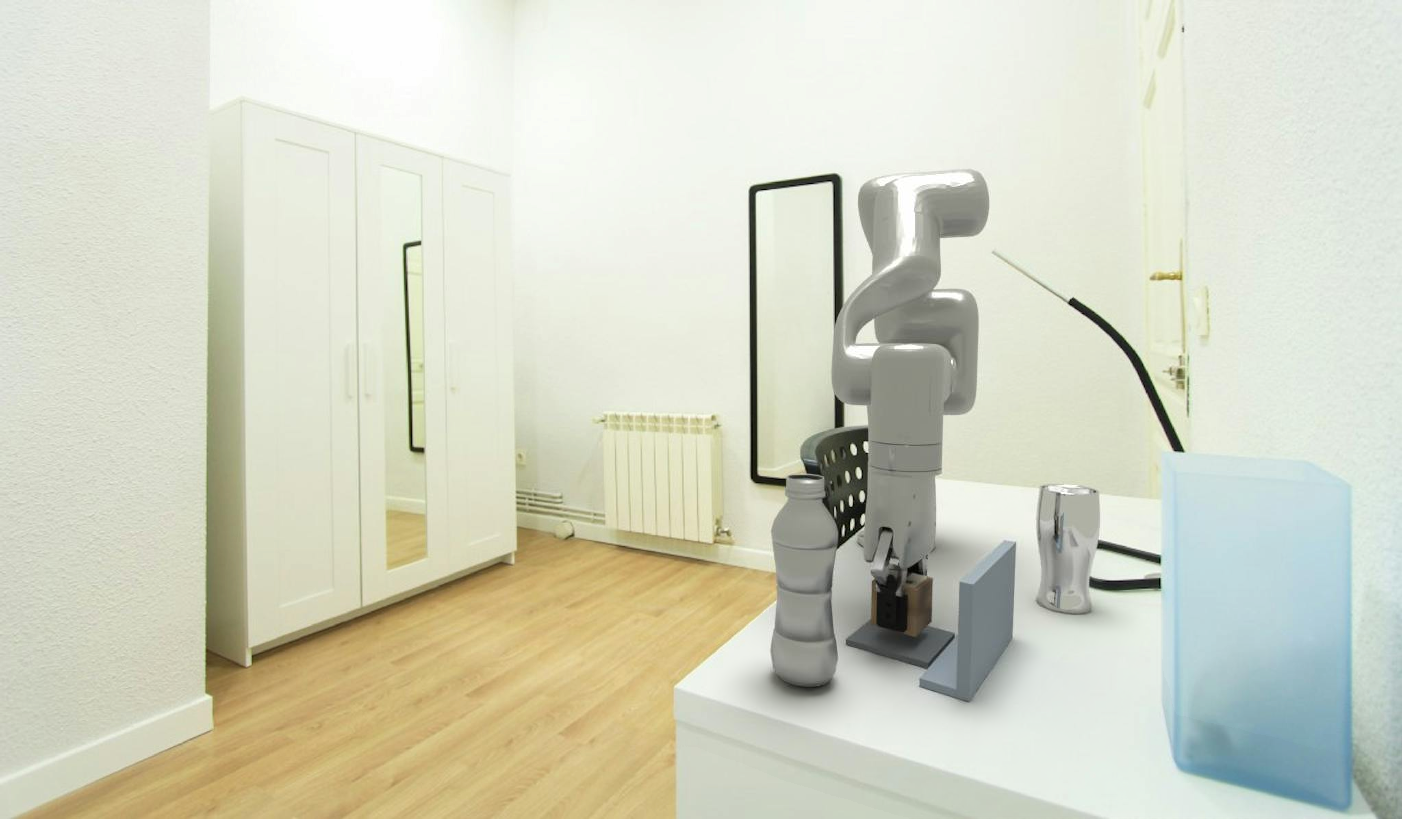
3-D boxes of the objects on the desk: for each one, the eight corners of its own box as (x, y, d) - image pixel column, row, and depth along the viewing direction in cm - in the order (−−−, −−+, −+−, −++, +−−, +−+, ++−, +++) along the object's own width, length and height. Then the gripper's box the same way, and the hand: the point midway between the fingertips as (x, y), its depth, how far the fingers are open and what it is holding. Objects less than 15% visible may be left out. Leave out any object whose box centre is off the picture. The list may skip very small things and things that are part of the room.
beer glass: (1105, 617, 77) (1111, 495, 76) (1042, 613, 78) (1048, 493, 77) (1083, 596, 84) (1088, 484, 83) (1025, 593, 85) (1030, 482, 84)
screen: (969, 627, 74) (972, 534, 73) (1012, 637, 71) (1016, 541, 71) (919, 685, 61) (922, 573, 60) (969, 701, 58) (973, 584, 57)
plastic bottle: (797, 702, 58) (799, 486, 56) (757, 670, 64) (758, 474, 62) (852, 686, 61) (855, 480, 59) (808, 656, 67) (811, 469, 65)
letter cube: (888, 610, 74) (889, 566, 74) (931, 621, 71) (932, 575, 71) (870, 624, 70) (871, 577, 70) (915, 636, 67) (917, 587, 67)
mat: (878, 618, 77) (878, 613, 77) (954, 637, 71) (955, 632, 71) (845, 644, 70) (845, 638, 70) (928, 668, 64) (928, 662, 64)
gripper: (900, 446, 78) (897, 590, 80) (838, 464, 65) (835, 637, 66) (963, 451, 74) (959, 604, 75) (911, 472, 60) (906, 658, 62)
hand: (901, 618), depth 71 cm, fingers closed on letter cube, 5 cm apart
